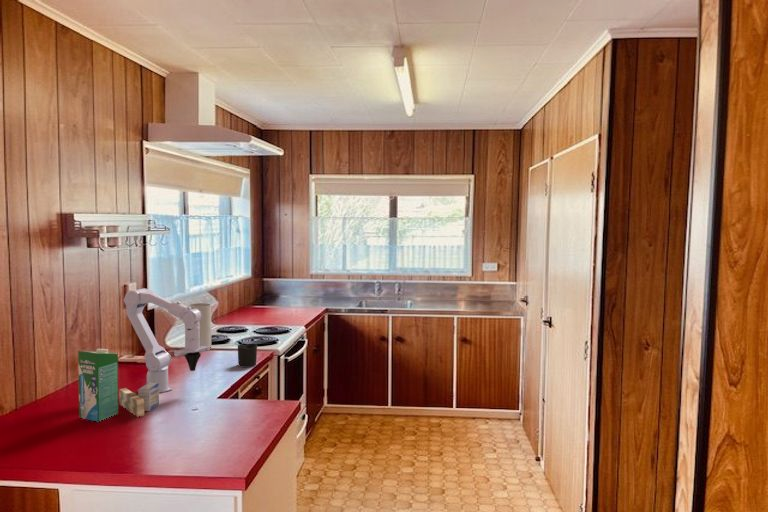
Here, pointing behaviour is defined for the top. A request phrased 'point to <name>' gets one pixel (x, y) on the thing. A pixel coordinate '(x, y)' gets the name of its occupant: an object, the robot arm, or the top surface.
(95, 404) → the milk carton
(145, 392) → the medicine box
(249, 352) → the pen holder
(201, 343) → the cylinder vase
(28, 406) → the top surface
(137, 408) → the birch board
